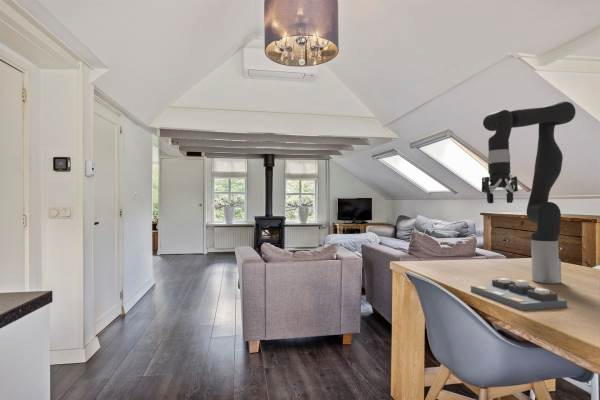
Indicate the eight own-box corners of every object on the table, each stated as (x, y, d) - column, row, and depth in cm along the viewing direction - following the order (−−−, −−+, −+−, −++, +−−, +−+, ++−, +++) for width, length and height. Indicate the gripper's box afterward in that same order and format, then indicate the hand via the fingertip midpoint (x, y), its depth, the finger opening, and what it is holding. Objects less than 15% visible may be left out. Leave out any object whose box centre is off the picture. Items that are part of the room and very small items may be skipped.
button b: (522, 285, 121) (522, 279, 121) (531, 287, 117) (531, 281, 117) (512, 285, 120) (512, 280, 120) (521, 288, 117) (521, 282, 117)
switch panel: (508, 288, 131) (507, 278, 132) (567, 306, 108) (566, 294, 108) (470, 291, 129) (470, 280, 129) (523, 310, 105) (522, 297, 105)
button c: (542, 293, 113) (541, 287, 113) (552, 297, 109) (552, 290, 109) (531, 294, 113) (531, 288, 113) (542, 297, 109) (542, 291, 109)
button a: (505, 283, 129) (504, 277, 129) (513, 285, 125) (513, 280, 125) (495, 283, 128) (495, 278, 128) (503, 286, 124) (503, 280, 124)
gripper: (507, 163, 140) (508, 202, 140) (476, 163, 137) (477, 203, 137) (522, 160, 133) (523, 202, 132) (489, 160, 130) (491, 203, 130)
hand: (500, 203), depth 135 cm, fingers open, 8 cm apart
